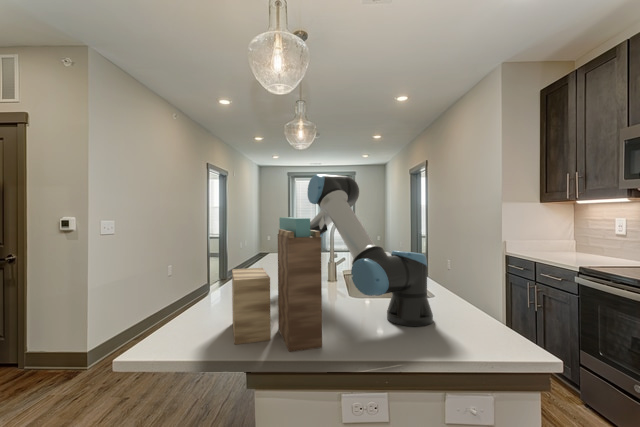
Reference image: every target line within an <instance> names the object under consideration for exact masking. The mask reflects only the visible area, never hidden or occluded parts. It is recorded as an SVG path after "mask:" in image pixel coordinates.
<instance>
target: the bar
mask: <svg viewBox="0 0 640 427" xmlns="http://www.w3.org/2000/svg"><path fill="white" fill-rule="evenodd" d="M278 221H279V223H278V224H279V225H278V226H279V229H284V230H288V231H292V232H294V237H310V222H311V218H309V217H293V216H292V217H290V216H289V217H288V216H287V217H280V216H279V220H278Z"/></svg>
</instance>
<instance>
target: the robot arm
mask: <svg viewBox="0 0 640 427" xmlns="http://www.w3.org/2000/svg"><path fill="white" fill-rule="evenodd" d="M359 197H360V187H359V184H358V183H357V181H356V180H355V179H353V178H352V177H350V176H347V175H337V174H336V175H335V174H325V173H322V174H318V173H317V174H314V175H313V176H312V177H311V178H310V180H309V182H308V186H307V199H308V201H309V203H310V204H312V205H318V206H319V209H320V211H319V212H318V213H317V214H316V215H315V216H314V217H313V219H312V220H310V230H315V231H320V237H321V238H322V237H324V233H326V232H327V231H328V227H329V225H331V223H333V225H334V227H335V228H336V230H337V232H338V234H339V235H340V237H341V239H342V240H343V241H342V242H344V244H345V246H346V247H347V249H348V252H349V253H350V255H351V256H352V258H353V259H352V261H351V265H352V266H351V270H350V274H351V275H352V276H351V281H352V284H353V285H354V286H355V288H356V289H357V291H358V292H360V293H361V294H363V295H365V296H369V297H370V296H371V297H372V296H382V295H385V294H386V295H387V294H391V298H390V300H389V304H388V306H387V309H386V318H387V320H388V321H389V322H392V323H393V324H396V325H400V326H406V327H423V326H424V327H425V326H429V325H431V324H432V323H433V320H434V319H433V318H434V315H433V311H432V307H431V305H430V302H429V299H428V263H427V256H426V255H425V254H424V253H420V252H412V251H402V250H392V251H391V254H390V255H388V254H387V253H386V252H385V250H384V248H383V247H382V246H380V245H376V244H375V243H374V241H373V240H372V238H371V237H370V235H369V233H368V232H367V230H366V229H365V227H364V225H363V224H362V223H361V221H360V220H359V218H358V216H357V215H356V214H355V212H354V210H353V208H352V207H353V206H354V205H355V204H356V203H357V201H358V198H359ZM289 217H293V216H292V215H291V216H289Z"/></svg>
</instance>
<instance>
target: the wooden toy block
mask: <svg viewBox="0 0 640 427" xmlns="http://www.w3.org/2000/svg"><path fill="white" fill-rule="evenodd" d="M231 286H232V287H231V288H232V290H231V292H232V296H231V297H232V298H231V299H232V300H231V301H232V302H231V304H232V331H233V340H234V345H243V344H244V345H245V344H249V343H250V344H251V343H257V342H258V343H260V342H266V341H271V340H272V339H271V336H272V334H271V331H272V330H271V321H272V320H271V277H270V276H269V274H268V273H267V271H265V269H264V267H252V268H251V267H250V268H248V267H247V268H232V269H231Z"/></svg>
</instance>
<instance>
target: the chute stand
mask: <svg viewBox="0 0 640 427" xmlns="http://www.w3.org/2000/svg"><path fill="white" fill-rule="evenodd" d="M322 281H323V280H322V237H320V231H315V230H310V237H294V232H292V231H288V230H284V229H280V228H279V229H278V234H277V297H278V298H277V299H278V301H277V304H278V305H277V310H278V311H277V314H278V318H277V322H278V323H277V324H278V332H279V333H280V336H281V338H282V340H283V342H284V344H285V346H286V349H287V350H288V352H289V353H293V352H300V351H307V350H314V349H315V350H316V349H322V348H323V312H322V311H323V308H322V307H323V306H322V305H323V301H322V299H323V296H322V291H323V290H322V286H323V284H322V283H323V282H322Z"/></svg>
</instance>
